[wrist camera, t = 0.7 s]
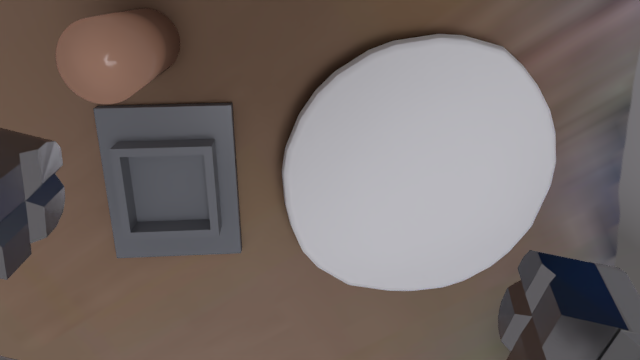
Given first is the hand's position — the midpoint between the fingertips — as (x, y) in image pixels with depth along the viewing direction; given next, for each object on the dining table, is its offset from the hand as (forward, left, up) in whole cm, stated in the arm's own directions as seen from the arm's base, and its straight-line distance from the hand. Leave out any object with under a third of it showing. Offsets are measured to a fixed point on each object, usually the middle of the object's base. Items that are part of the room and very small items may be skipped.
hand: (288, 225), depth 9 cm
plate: (+14, +13, -45) cm, 49 cm away
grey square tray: (+15, -12, -44) cm, 48 cm away
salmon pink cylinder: (+1, -13, -44) cm, 46 cm away
